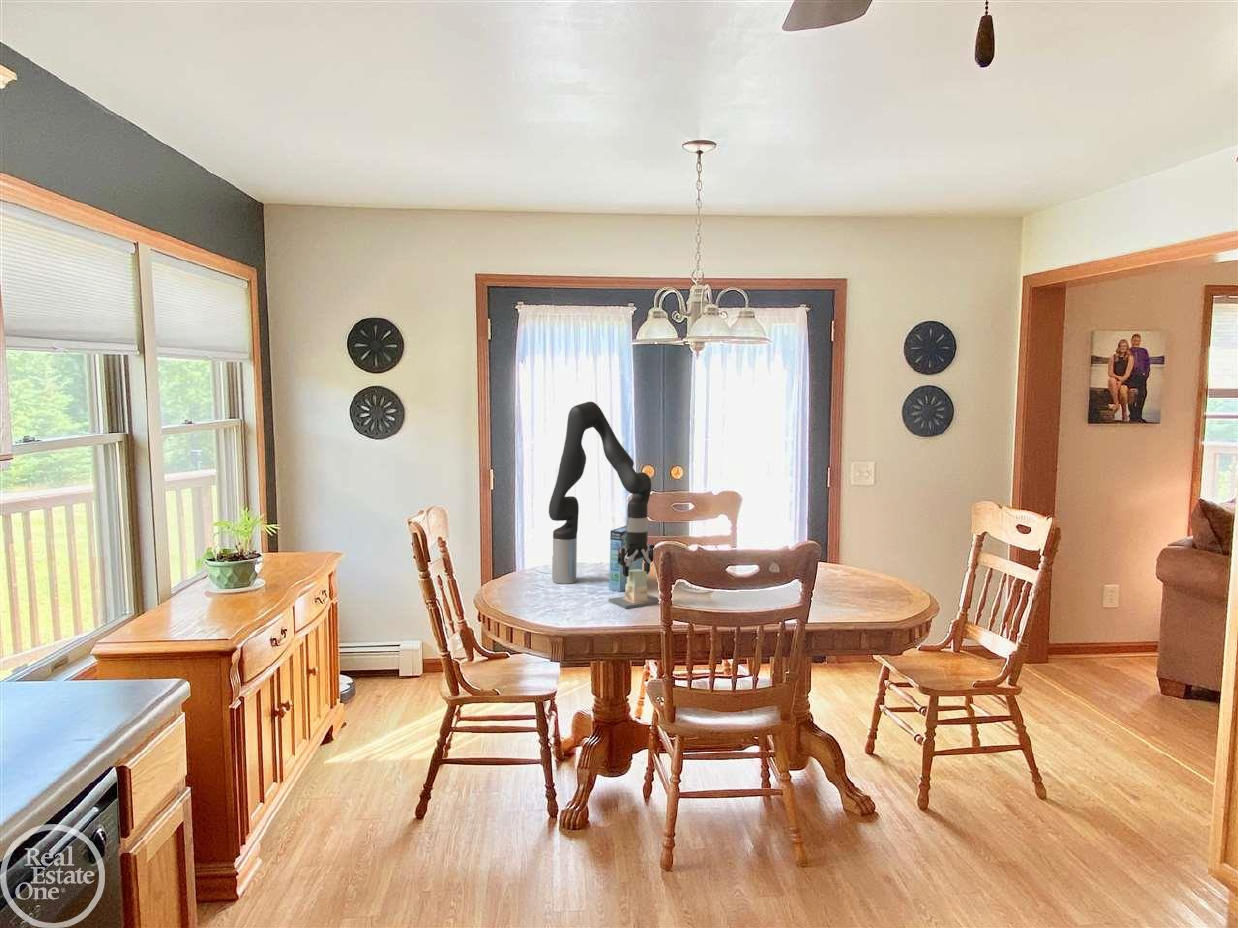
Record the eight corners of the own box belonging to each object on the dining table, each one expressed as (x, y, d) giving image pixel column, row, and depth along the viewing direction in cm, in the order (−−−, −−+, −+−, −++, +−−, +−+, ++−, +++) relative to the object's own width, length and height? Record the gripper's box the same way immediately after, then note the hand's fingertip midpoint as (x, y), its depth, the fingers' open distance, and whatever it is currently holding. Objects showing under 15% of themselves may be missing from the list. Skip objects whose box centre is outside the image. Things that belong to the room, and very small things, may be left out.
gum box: (631, 580, 320) (632, 522, 318) (643, 581, 318) (644, 523, 316) (608, 590, 303) (609, 530, 301) (620, 592, 300) (621, 531, 298)
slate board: (608, 601, 287) (608, 598, 287) (646, 595, 295) (646, 592, 295) (625, 608, 277) (625, 605, 277) (663, 602, 286) (663, 599, 286)
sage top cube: (626, 584, 287) (626, 570, 286) (638, 582, 289) (638, 568, 289) (634, 587, 282) (634, 573, 282) (646, 585, 285) (646, 571, 285)
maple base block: (625, 598, 287) (625, 584, 287) (638, 596, 290) (638, 582, 290) (633, 601, 282) (634, 587, 282) (646, 599, 285) (647, 585, 285)
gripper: (647, 526, 291) (646, 570, 293) (614, 529, 284) (613, 575, 285) (659, 529, 285) (658, 574, 287) (625, 533, 278) (625, 579, 279)
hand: (636, 574), depth 286 cm, fingers open, 8 cm apart
